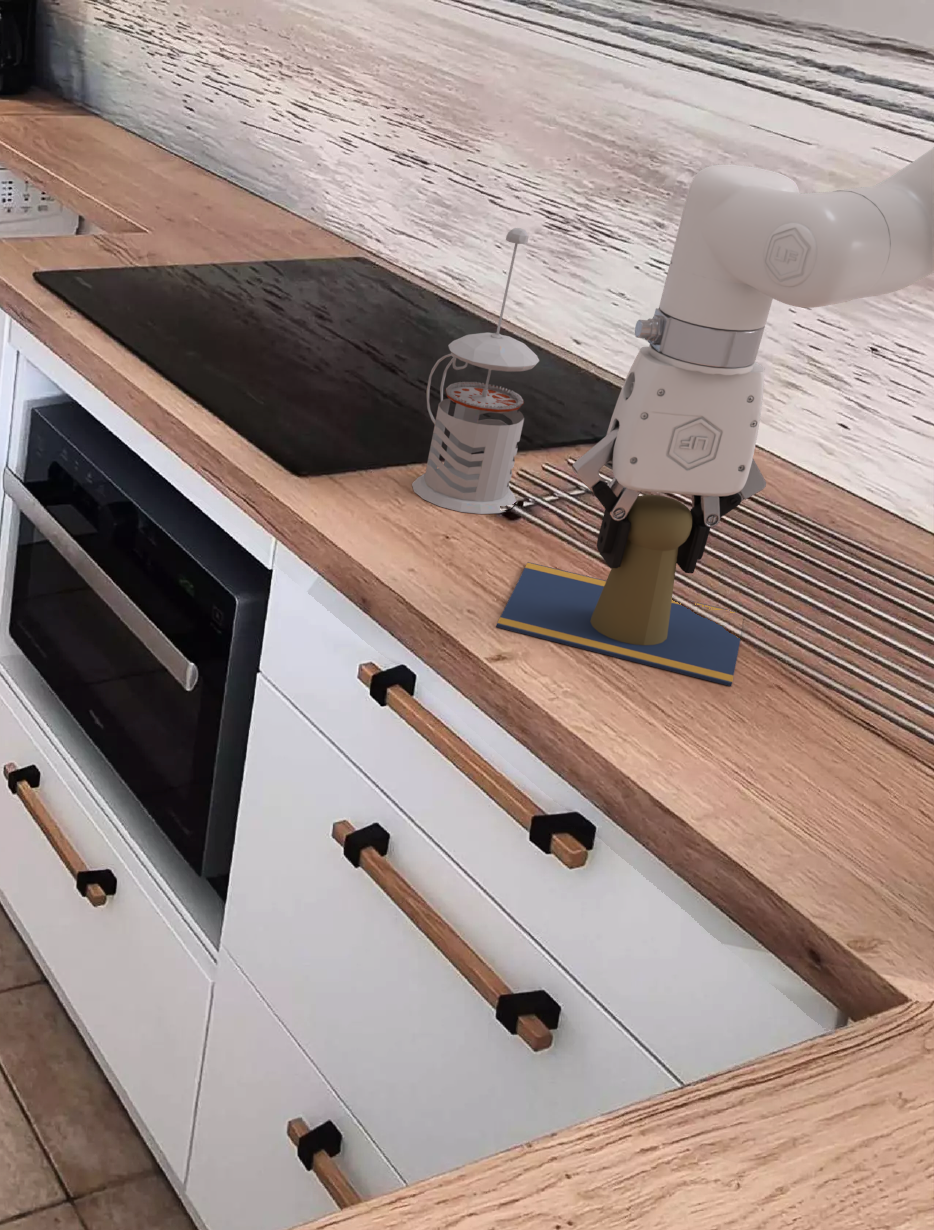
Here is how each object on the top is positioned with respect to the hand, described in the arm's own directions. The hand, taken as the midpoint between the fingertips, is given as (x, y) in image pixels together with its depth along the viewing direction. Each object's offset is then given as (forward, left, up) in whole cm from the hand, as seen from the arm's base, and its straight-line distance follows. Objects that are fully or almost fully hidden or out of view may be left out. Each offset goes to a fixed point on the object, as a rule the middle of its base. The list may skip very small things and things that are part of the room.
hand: (646, 561), depth 135 cm
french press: (+19, -23, -6) cm, 30 cm away
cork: (0, 0, -6) cm, 6 cm away
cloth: (+1, -2, -6) cm, 6 cm away
